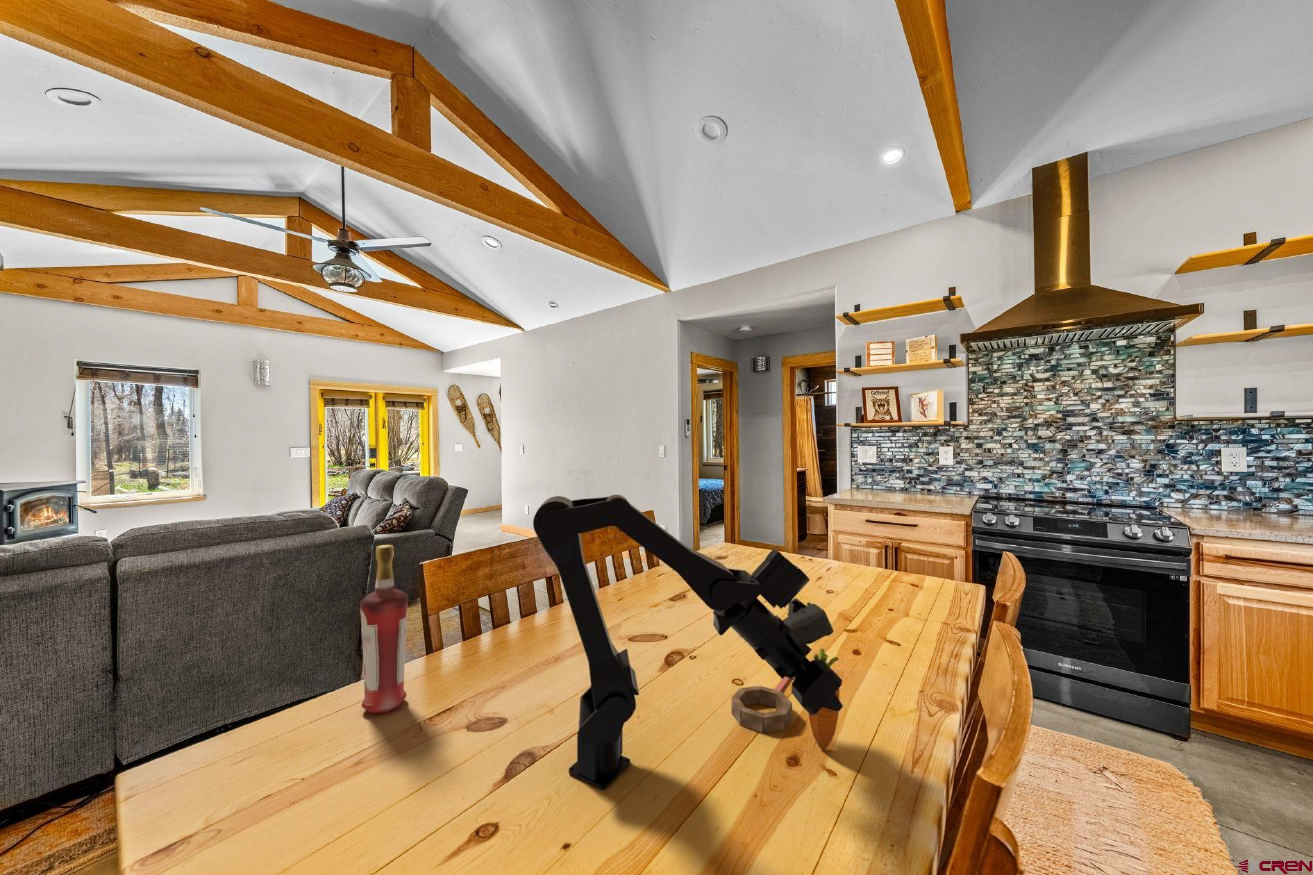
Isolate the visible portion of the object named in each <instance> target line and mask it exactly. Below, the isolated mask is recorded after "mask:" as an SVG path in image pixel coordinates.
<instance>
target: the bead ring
mask: <svg viewBox="0 0 1313 875" xmlns="http://www.w3.org/2000/svg"><path fill="white" fill-rule="evenodd" d="M730 700H731V703H730V704H731V711H730V712H731V715H732V716H733V718H734V719H735V720H736V722H737V723H738V724H739V726H741V727H743V728H746V729H749V730H752V731H755V732H758V733H760V734H762V733H764V734H768V733H772V732H773V733H774V732H778V731H779V732H781V731H785V730H787V728H788V726H789V725H790V723H791V721H792V720H793V702H792V701H791V700H790V699H789V698H788V697H787V696H786V695H785V694H784V693H783V691H781V692H780V691H778V690H775V688H774V689H772V688H771V687H766V686H763V685H754V686H753V685H752V686H747V687H746V686H744V687H740V688H738V690H737V691H736V692H735V693H734V695H732V697H731V699H730ZM758 704H761V705H765V706H767V707H771V708H773V709H774V708H775V709H776V710H775V711H768V712H761V711H757V710H754V709H751V708H747V707H746V706H752V705H758Z"/></svg>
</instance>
